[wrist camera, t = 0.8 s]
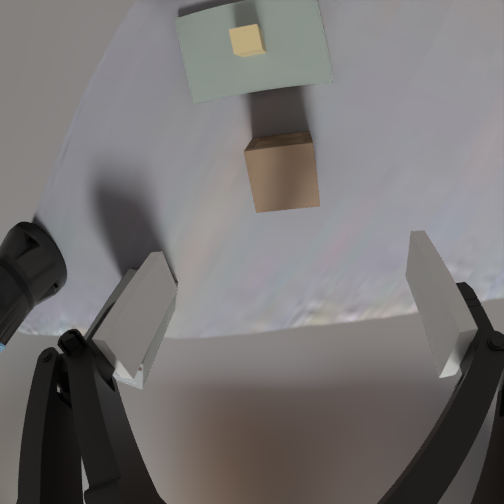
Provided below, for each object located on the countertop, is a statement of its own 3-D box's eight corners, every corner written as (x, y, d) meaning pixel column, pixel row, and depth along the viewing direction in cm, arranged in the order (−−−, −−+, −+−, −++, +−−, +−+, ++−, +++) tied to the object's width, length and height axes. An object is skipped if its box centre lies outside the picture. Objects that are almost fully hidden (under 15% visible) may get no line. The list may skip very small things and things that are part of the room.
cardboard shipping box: (262, 189, 33) (256, 212, 28) (252, 138, 30) (243, 151, 25) (315, 183, 32) (320, 206, 27) (309, 131, 29) (313, 142, 24)
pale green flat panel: (197, 103, 28) (179, 109, 24) (179, 21, 23) (157, 12, 18) (331, 82, 25) (339, 83, 21) (313, -5, 20) (317, -21, 16)
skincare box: (130, 295, 46) (85, 370, 32) (130, 261, 42) (75, 340, 28) (177, 311, 46) (142, 394, 33) (182, 279, 42) (140, 368, 29)
